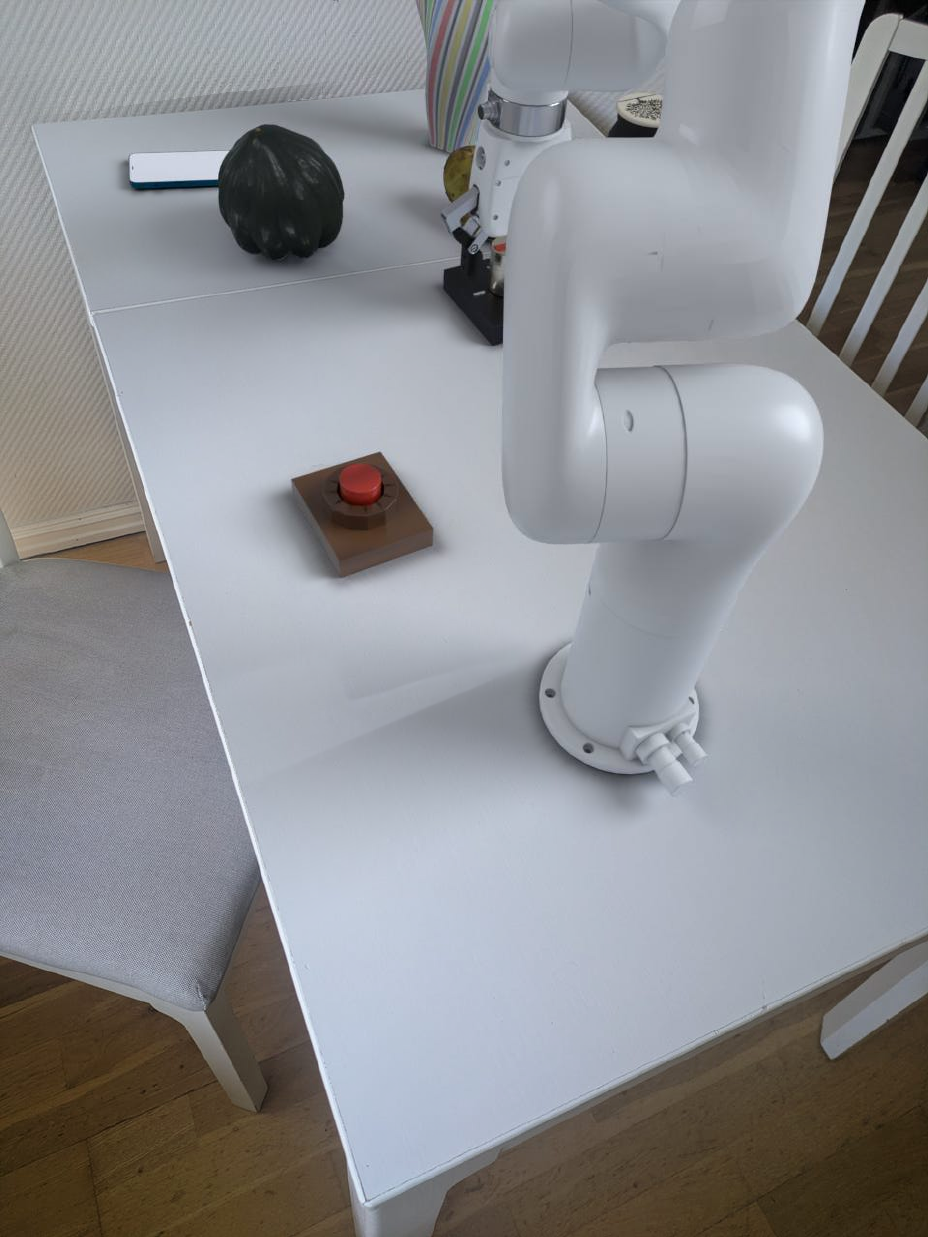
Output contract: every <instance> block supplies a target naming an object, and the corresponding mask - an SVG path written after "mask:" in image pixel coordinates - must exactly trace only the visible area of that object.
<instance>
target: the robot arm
mask: <svg viewBox="0 0 928 1237" xmlns="http://www.w3.org/2000/svg"><path fill="white" fill-rule="evenodd" d="M865 4H866V0H497V6H496V10H495V11H494V12H493V14H492V18H491V21H490V30H489V36H488V57H489V63H490V66H491V68H492V69H491V76H490V80H489V81H490V83H489V84H490V85H489V89H488V90H487V93H488V94H487V100H486V101H485V103H484V104H480V105H479V106H478V116H479V118H480V119H481V120H482V121H481V126H480V131H479V135H478V139H477V143H476V145H475V146H476V148H475V152H474V157H473V163H472V168H471V176H470V183H469V190H468V191H467V192H466V193H464V194H463V195H462V196H460V197H459V198H458V199H456V200H455V201H454V202H452V203H451V202H450V204H448V205H447V206H446V207H445V208H443V209H442V210H441V212H440V216H441V218H442V220H443V222H444V225H445V226H446V229H447V231H448V233H449V234H450V235H451V236H452V238H454V239H455V241H457V243H458V244H460V245H461V249H460V262H459V263H460V265H459V266H460V270H461V273H462V274H463V276H464V277H466V278H467V279H468V281H469V282H470V283H471V284H472V285H473V286H474V287H476V286H479V285H480V284H481V275H482V264H483V260H484V252H483V251H482V250H481V248H482V246H483V245H484V244H485V242H486V240H487V238H488V237H489V236H490V237H495V238H496V237H503V236H507V239H506V255H505V272H504V322H503V343H502V375H501V376H502V378H501V379H502V380H501V384H502V385H501V386H502V387H501V389H502V390H501V426H500V428H501V430H500V431H501V432H500V433H501V434H500V445H501V446H500V469H501V483H502V491H503V496H504V497H503V498H504V502H505V506H506V510H507V513H508V516H509V518H510V520H511V522H512V524H513V525H514V527H515V528H516V529H517V530H518V531H519V532H520V533H521V534H522V535H523V536H525V537H526V538H528V539H530V540H531V541H535V542H537V543H541V544H546V545H591V544H592V545H593V544H598V546H597V549H596V552H595V556H594V560H593V563H592V568H591V571H590V574H589V578H588V583H587V587H586V590H585V594H584V597H583V601H582V605H581V607H580V612H579V616H578V619H577V623H576V627H575V630H574V634H573V638H572V641H571V642H569V643H568V644H566V645H564V646H563V647H561V649H559V650H558V651H557V652H556V653H555V654H554V655H553V657H552V658H551V659H550V660H549V662H548V664H547V665H546V667H545V669H544V670H543V674H542V677H541V681H540V686H539V694H538V699H539V701H538V702H539V710H540V712H541V716H542V719H543V722H544V724H545V726H546V727H547V729H548V731H549V734H550V736H552V737H553V738H554V740H555V742H557V744H558V745H559V746H560V747H561V748H562V749H563V750H565V751H566V752H567V753H568V754H569V755H571V756H572V757H574V758H575V759H577V760H579V761H580V762H582V763H584V764H585V765H587V766H590V767H593V768H595V769H598V770H600V771H604V772H609V773H613V774H622V775H635V774H637V775H638V774H644V773H645V774H646V773H649V772H652V771H654V772H655V773H656V775H657V777H658V779H659V780H660V781H661V783H662V784H663V786H664V787H665V788H666V790H667V792H668V793H669V794H670V796H671V797H672V798H674V797H677V796H679V795H681V794H683V793H685V792H686V791H687V790H689V789H690V788H691V787H692V786H693V785H694V782H695V780H694V779H693V778H692V777H691V775H690V774H689V772H688V771H687V770H686V768H685V767H684V766H683V765H682V763H681V762H680V761H678V760H677V758H678V757H680V756H681V755H683V757H684V758H685V759H686V760H687V762H688V763H689V765H690V766H691V767H692V768H696V767H699V766H700V765H702V764H703V763H704V762H706V761H707V760H708V758H709V757H708V756H709V755H708V754H707V753H706V752H705V750H704V749H703V748H702V747H701V745H700V744H699V743H698V742H696V740H695V739H694V738H693V737H694V735H695V732H696V731H697V727H698V723H699V719H700V703H699V699H698V695H697V694H698V693H697V691H696V689H695V685H696V684H697V681H698V679H699V677H700V675H701V673H702V671H703V668H704V666H705V664H706V662H707V660H708V658H709V656H710V654H711V652H712V651H713V648H714V646H715V644H716V642H717V640H718V637H719V636H720V633H721V632H722V631H721V630H722V629H723V627H724V625H725V623H726V620H727V619H728V616H730V614H731V613H732V610H733V609H734V606H735V604H736V602H737V600H738V598H739V596H740V594H741V592H742V590H743V588H744V586H745V584H746V582H747V580H748V578H749V577H750V575H751V573H752V572H753V570H754V568H755V567H756V565H757V563H759V561H760V560H761V558H762V556H763V555H764V554H765V553H766V552H767V550H768V549H769V548H770V547H771V545H772V544H773V543H774V542H775V541H776V540H777V539H778V538H779V537H780V536H781V534H782V533H783V532H784V531H785V529H787V527H788V526H789V525H790V524H791V523H792V521H793V520H794V519H795V517H796V516H797V515H798V514H799V512H800V510H801V509H802V508H803V506H804V504H805V503H806V501H807V499H808V498H809V496H810V494H811V492H812V490H813V488H814V485H815V484H816V480H817V478H818V475H819V473H820V469H821V465H822V460H823V454H824V441H825V440H824V438H825V436H824V427H823V421H822V417H821V413H820V411H819V408H818V407H817V404H816V402H815V400H814V398H813V397H812V395H811V394H810V392H809V391H808V390H807V389H806V388H805V387H804V386H803V385H802V384H801V383H800V382H799V381H797V380H796V379H794V378H793V377H791V376H790V375H788V374H786V373H784V372H781V371H779V370H776V369H774V368H770V367H766V366H763V365H762V366H760V365H754V364H747V363H732V362H731V363H730V362H729V363H727V362H713V363H711V362H710V363H708V362H707V363H687V364H686V363H685V364H657V365H655V364H654V365H652V366H631V367H630V366H627V367H624V366H623V367H603V368H601V367H599V366H600V363H601V360H602V357H603V356H604V354H605V352H607V350H608V348H609V347H612V346H614V345H618V344H639V343H641V344H643V343H644V344H645V343H646V344H647V343H672V342H673V343H675V342H701V341H702V342H703V341H721V340H723V341H724V340H737V339H746V338H753V337H758V336H763V335H767V334H770V333H773V332H776V331H779V330H781V329H783V328H785V327H786V326H787V325H790V324H791V323H792V322H793V321H794V320H795V319H796V318H798V317H799V315H800V314H801V313H802V311H803V310H804V308H805V307H806V304H807V303H808V301H809V298H810V297H811V293H812V291H813V288H814V285H815V283H816V278H817V273H818V270H819V265H820V260H821V255H822V250H823V244H824V239H825V234H826V228H827V221H828V214H829V209H830V203H831V196H832V190H833V184H834V178H835V172H836V166H837V159H838V153H839V146H840V140H841V134H842V128H843V121H844V115H845V109H846V103H847V97H848V91H849V84H850V76H851V70H852V68H851V67H852V60H853V53H854V49H855V43H856V39H857V34H858V30H859V26H860V20H861V16H862V13H863V10H864V6H865ZM663 60H664V73H663V75H664V76H663V90H662V96H663V100H662V110H661V117H660V123H659V127H658V130H657V132H656V134H655V136H654V137H652V138H608V137H584V138H583V137H582V138H574V139H572V138H573V137H572V124H571V122H570V121H569V120H568V119H566V113H567V107H568V99H569V92H602V93H603V92H604V93H611V92H612V93H613V92H617V93H619V92H627V91H629V90H630V91H631V90H633V89H635V88H638V87H639V86H641V85H642V84H644V82H646V81H647V80H648V79H649V78H650V77H651V76H652V74H653V73H654V72H655V71H656V69H657V68H658V67H659V65H660V64H661V62H662V61H663ZM467 213H468V215H469V217H470V218H469V219H468V221H467V222H466V224H465V225H462V223H461V222H460V220H461V218H462V217H463V216H464V215H466V214H467ZM478 226H480V227H481V228H479V230H478V231H477V232H476V234H473V233H474V232H475V230H476V229H477V227H478Z"/></svg>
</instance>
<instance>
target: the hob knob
mask: <svg viewBox="0 0 928 1237" xmlns="http://www.w3.org/2000/svg"><path fill="white" fill-rule="evenodd" d="M506 239H507V236H503V237H497V238H496V239H494V240H492V241H491V246H490V247H491V248H490V257H489V258H490V267H489V277H488V288H489V290H490V291H491V292H492V293H494V294H495V295H498V296H501V297H504V272H505V255H506Z"/></svg>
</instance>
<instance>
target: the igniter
mask: <svg viewBox="0 0 928 1237" xmlns="http://www.w3.org/2000/svg"><path fill="white" fill-rule="evenodd" d="M354 464H366V465H370V466H372V467H374V468H375V469H377V470H378V472H379V473H380V476H381V495H380V497H379V499H378V500H377V501H376V502H375V503H373V504H370V505H367V506H354V505H350V504H348V503H347V502H345V501H344V500H343V498H342V497H341V494H340V481H339V477H340V474H341V472H342V471H343V470H344V469H345V468H347V467H348V466H351V465H354ZM290 482H291V483H290V484H291V490H292V498H293V499H294V500H295V502H296V504H297V505H298V507H299V509H300V510H301V512H302V514H303V516H304V517H305V519H306V521H307V523H308V524H309V526H310V528H311V529H312V531H313V533H314V534H315V536H316V539H317V541H319V544H320V545H321V547H322V548H323V550H324V552H325V554H326V555H327V557H328V559H329V561H330V562H331V565H332V566H333V567H334V569H335V570H336V572H337V574H338V575H339V578H344V577H347V576H350V575H352V574H356V573H359V572H362V571H364V570H367V569H370V568H373V567H375V566H378V565H381V564H384V563H386V562H390V561H392V560H395V559H398V558H400V557H403V556H405V555H409V554H411V553H415V552H417V551H420V550H423V549H426V548H429V547H432V546H433V545H434V529H435V528H434V527H433V526H432V524H431V523H430V520H428V518H427V517H426V515H425V514H424V512H423V511H422V509H421V508H420V507H419V505H418V504H417V502H416V501H415V499H414V498H413V497H412V495H411V494H410V492H409V491H408V489H407V488H406V486H405V485H404V483H403V482H402V480H401V478H400V477H399V476H398V474H397V473H396V472H395V470H394V468H393V467H392V466H391V465H390V462H389V461H388V460H387V459H386V457H385V456H384V454H383V452H382V451H377V452H374V453H370V454H368V455H365V456H360V457H357V458H355V459H354V458H353V459H351V460H348V461H345V462H341V463H338V464H335V465H332V466H329V467H325V468H322V469H319V470H315V471H312V472H309V473H306V474H303V475H299V476H296V477H293V478H291V479H290Z"/></svg>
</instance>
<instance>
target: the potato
mask: <svg viewBox="0 0 928 1237" xmlns="http://www.w3.org/2000/svg"><path fill="white" fill-rule="evenodd" d="M475 148H476V145H473V146H464V147H461V148H458V149H456V150H455V151H453V152H452V153H449V155H448V156H447V158H446V161H445V164H444V166H443V173H442V182H443V187H444V190H445V193H444V194H445V195H446V197H447V199H448V201H449V202H450V204H451V203H452V202H454V201H455V200H456V199H458V198H459V197H460V196H462V195H463V194H464V193H466V192H467V191H468V190H469V183H470V176H471V168H472V163H473V157H474V152H475ZM469 218H470V217H469V215H468V213H467V214H466V215H464V216H463V217H462V218H461V220H460V224H461V225H462V226H464V225H465V224H466V222H467V221H468V219H469ZM479 228H481V227H480V226H478V227H477V229H476V230H475V232H474V233H473V234H472V235H475V234H476V232H477V231H478V230H479ZM496 238H497V237H496ZM496 238H495V237H490V236H489V237H488V238H487V239H486V240H488V241H493V240H494V239H496Z"/></svg>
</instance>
